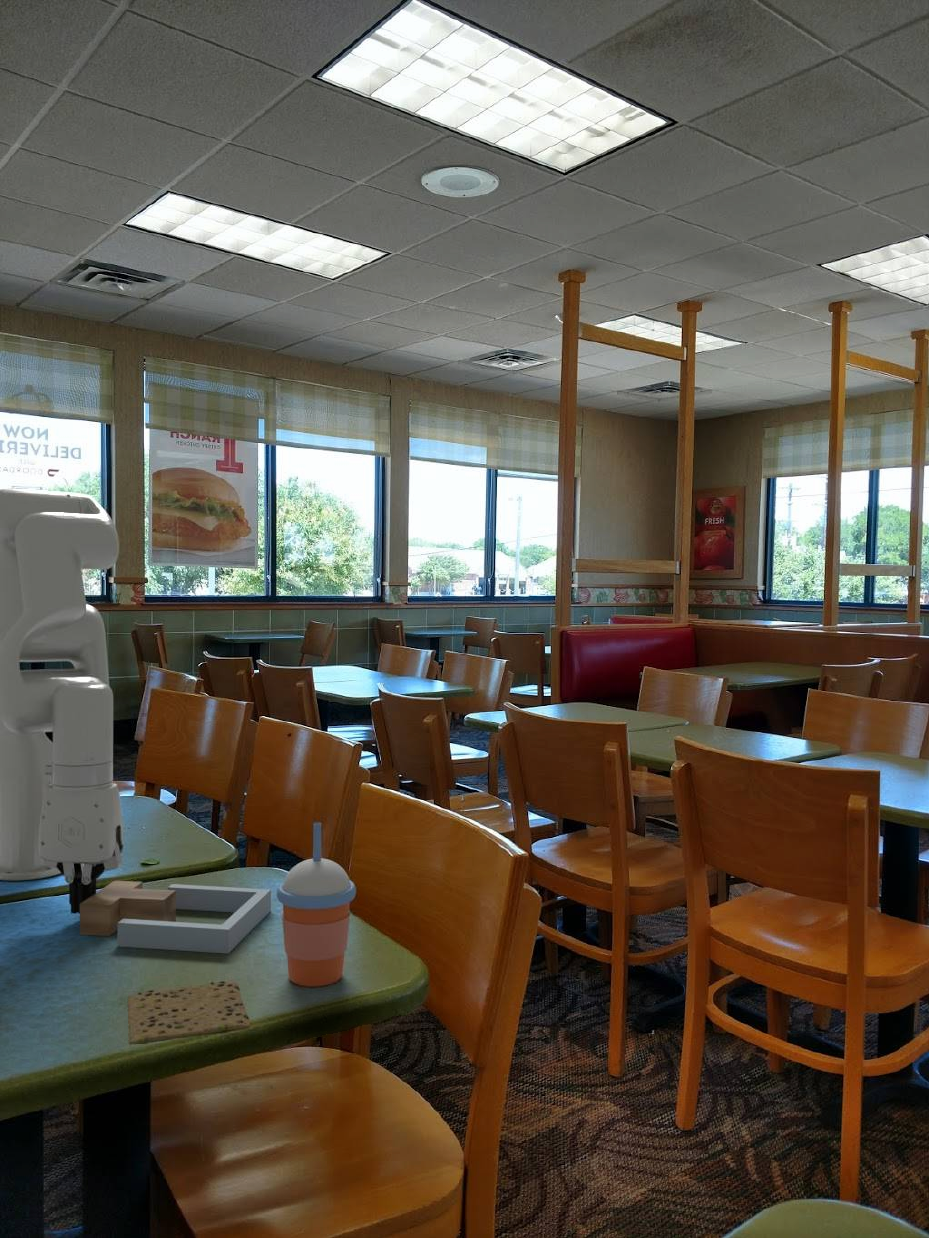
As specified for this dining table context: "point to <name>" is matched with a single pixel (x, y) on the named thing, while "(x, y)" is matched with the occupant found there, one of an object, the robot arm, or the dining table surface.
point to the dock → (197, 935)
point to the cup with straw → (316, 918)
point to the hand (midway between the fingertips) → (82, 910)
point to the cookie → (185, 1012)
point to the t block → (125, 907)
